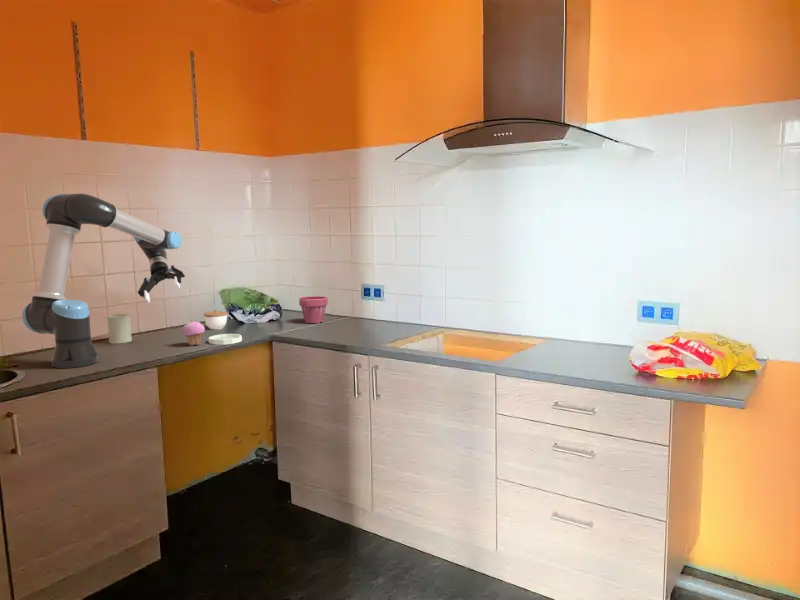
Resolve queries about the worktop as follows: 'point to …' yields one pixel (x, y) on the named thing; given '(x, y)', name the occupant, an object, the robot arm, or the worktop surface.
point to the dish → (225, 339)
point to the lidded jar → (215, 319)
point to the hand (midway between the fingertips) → (162, 294)
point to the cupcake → (193, 332)
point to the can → (119, 328)
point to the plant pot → (313, 308)
